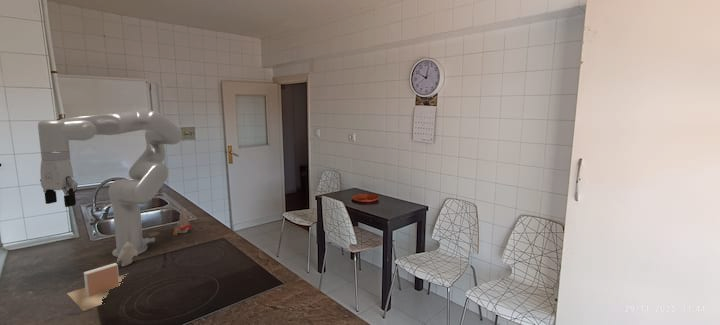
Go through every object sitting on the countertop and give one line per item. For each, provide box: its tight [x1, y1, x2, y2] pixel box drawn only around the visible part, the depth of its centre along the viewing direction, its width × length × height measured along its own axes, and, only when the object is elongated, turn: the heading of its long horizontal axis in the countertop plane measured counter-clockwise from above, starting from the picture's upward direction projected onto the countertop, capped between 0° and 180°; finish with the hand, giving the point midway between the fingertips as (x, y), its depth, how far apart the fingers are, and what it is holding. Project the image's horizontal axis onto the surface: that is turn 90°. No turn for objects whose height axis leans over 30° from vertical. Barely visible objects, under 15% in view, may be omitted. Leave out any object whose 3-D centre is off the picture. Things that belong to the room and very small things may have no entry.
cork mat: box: [66, 273, 128, 312], centre depth 118 cm, size 18×16×1 cm
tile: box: [83, 262, 120, 297], centre depth 117 cm, size 9×2×8 cm, turn 144°
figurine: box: [173, 209, 192, 236], centre depth 173 cm, size 9×7×12 cm
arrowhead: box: [116, 242, 139, 267], centre depth 136 cm, size 8×3×10 cm, turn 154°
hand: (60, 204), depth 123 cm, fingers open, 9 cm apart
